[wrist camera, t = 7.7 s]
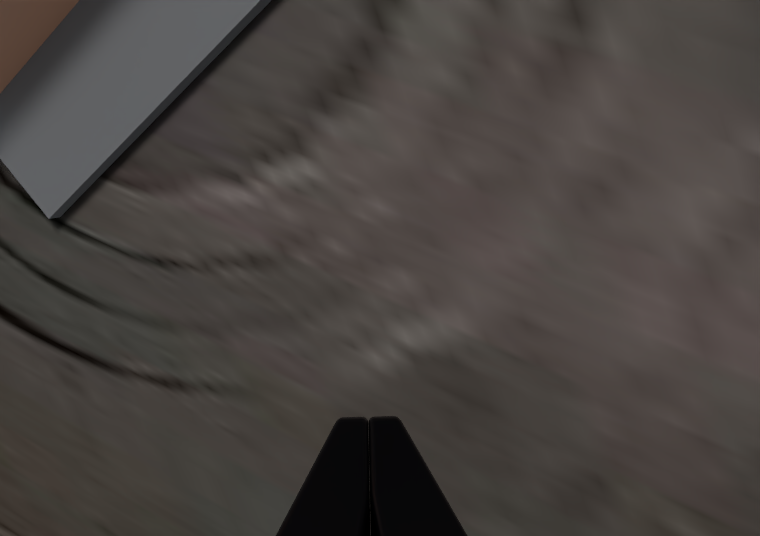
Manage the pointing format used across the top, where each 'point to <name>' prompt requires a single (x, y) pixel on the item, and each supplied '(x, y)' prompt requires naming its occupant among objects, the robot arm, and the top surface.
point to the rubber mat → (105, 87)
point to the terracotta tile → (26, 31)
